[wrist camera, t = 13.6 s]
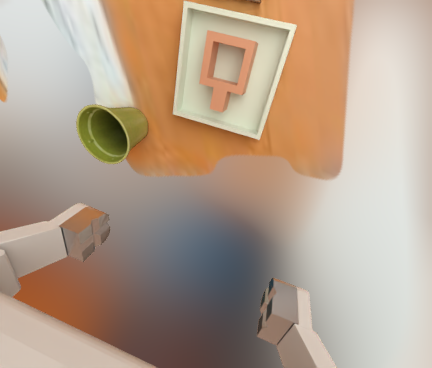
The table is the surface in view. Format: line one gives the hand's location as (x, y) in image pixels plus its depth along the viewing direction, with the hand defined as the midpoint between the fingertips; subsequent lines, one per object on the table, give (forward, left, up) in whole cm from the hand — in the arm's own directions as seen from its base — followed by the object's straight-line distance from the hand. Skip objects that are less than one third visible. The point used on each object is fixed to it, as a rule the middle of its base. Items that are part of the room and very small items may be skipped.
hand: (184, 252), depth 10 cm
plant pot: (-22, -7, -29) cm, 37 cm away
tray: (-6, +5, -29) cm, 30 cm away
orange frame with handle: (-6, +5, -29) cm, 30 cm away
